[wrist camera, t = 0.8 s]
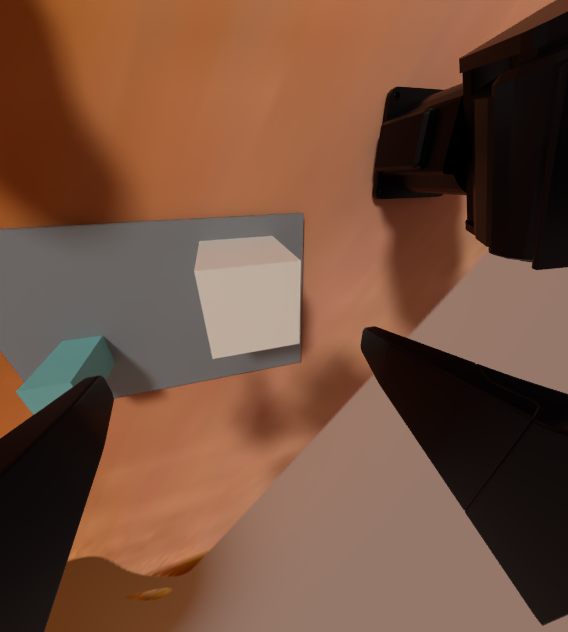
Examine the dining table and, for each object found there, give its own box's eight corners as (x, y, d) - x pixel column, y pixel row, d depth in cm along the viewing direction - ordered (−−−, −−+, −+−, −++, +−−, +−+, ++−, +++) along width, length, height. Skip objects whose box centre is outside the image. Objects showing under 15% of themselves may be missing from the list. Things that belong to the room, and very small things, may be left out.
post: (102, 335, 18) (70, 382, 14) (115, 362, 19) (89, 412, 15) (62, 341, 18) (15, 392, 13) (78, 368, 19) (39, 422, 15)
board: (300, 212, 18) (303, 213, 18) (298, 358, 25) (300, 361, 25) (-75, 232, 13) (-86, 234, 13) (49, 405, 20) (46, 411, 20)
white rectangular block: (272, 235, 18) (300, 260, 12) (275, 299, 20) (299, 343, 15) (199, 241, 17) (194, 271, 11) (211, 307, 19) (212, 359, 14)
